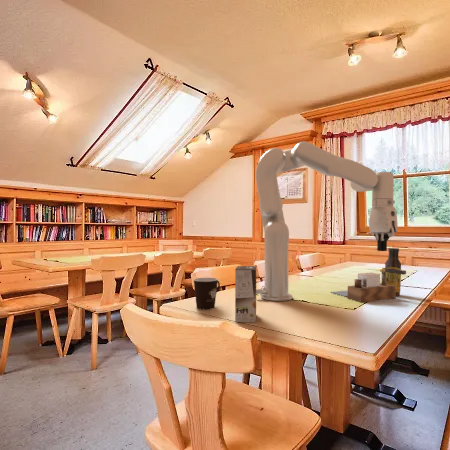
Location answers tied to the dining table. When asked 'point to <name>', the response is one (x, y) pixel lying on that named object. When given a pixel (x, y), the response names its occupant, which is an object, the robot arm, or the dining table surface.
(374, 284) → the lever cap
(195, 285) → the coffee mug
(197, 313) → the dining table surface
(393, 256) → the sauce bottle
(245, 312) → the coffee box
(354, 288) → the body
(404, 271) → the lever
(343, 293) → the felt pad
